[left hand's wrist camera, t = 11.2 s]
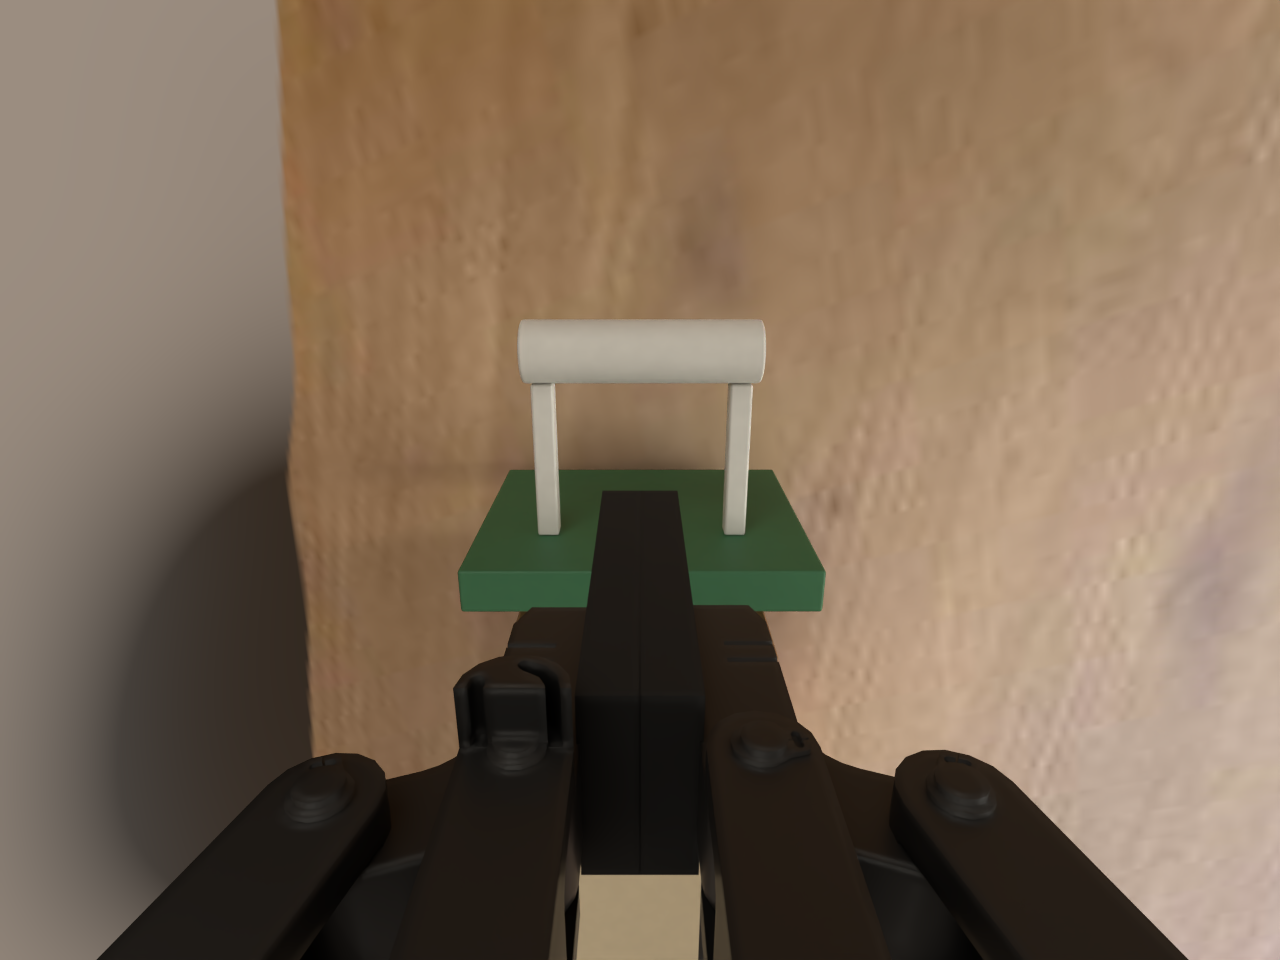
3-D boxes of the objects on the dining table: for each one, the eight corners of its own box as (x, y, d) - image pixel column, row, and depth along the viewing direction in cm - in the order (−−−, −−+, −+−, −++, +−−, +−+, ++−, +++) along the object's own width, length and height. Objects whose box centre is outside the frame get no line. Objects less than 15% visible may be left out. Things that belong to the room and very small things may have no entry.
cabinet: (511, 652, 30) (452, 855, 20) (770, 652, 30) (830, 854, 20) (534, 978, 36) (498, 1245, 27) (747, 978, 36) (784, 1245, 27)
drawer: (498, 297, 24) (433, 334, 16) (784, 297, 24) (849, 334, 16) (534, 845, 32) (502, 1038, 25) (747, 845, 32) (780, 1037, 25)
